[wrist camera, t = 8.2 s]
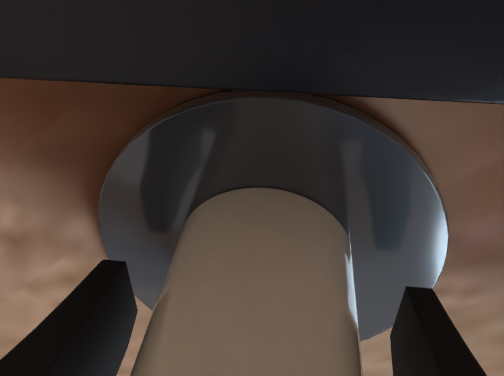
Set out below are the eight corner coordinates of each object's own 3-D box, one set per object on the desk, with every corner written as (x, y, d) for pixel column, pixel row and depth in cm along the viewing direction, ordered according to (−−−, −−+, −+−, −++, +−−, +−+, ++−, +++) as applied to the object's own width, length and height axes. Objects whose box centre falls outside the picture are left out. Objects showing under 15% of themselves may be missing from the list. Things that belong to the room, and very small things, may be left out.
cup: (364, 193, 11) (406, 485, 6) (340, 316, 14) (354, 581, 9) (171, 179, 12) (57, 440, 7) (187, 301, 15) (118, 546, 10)
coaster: (497, 99, 10) (505, 109, 10) (403, 355, 16) (405, 368, 16) (66, 77, 11) (57, 85, 10) (132, 327, 17) (128, 339, 16)
